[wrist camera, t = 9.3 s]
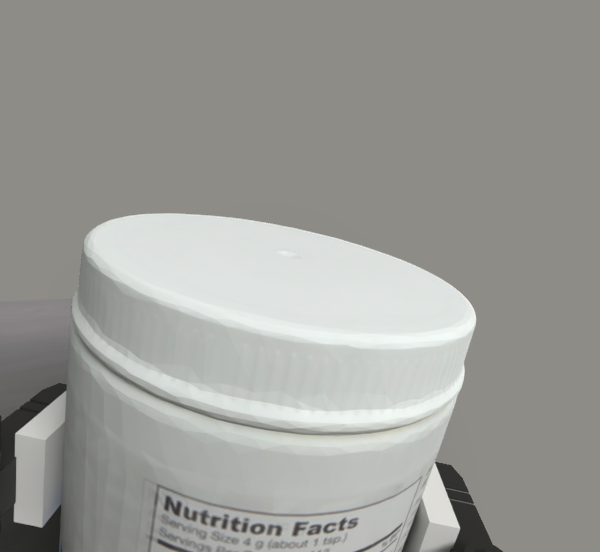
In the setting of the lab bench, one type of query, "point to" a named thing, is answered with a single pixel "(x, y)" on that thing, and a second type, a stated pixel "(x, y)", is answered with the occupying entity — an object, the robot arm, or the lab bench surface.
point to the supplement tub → (252, 389)
